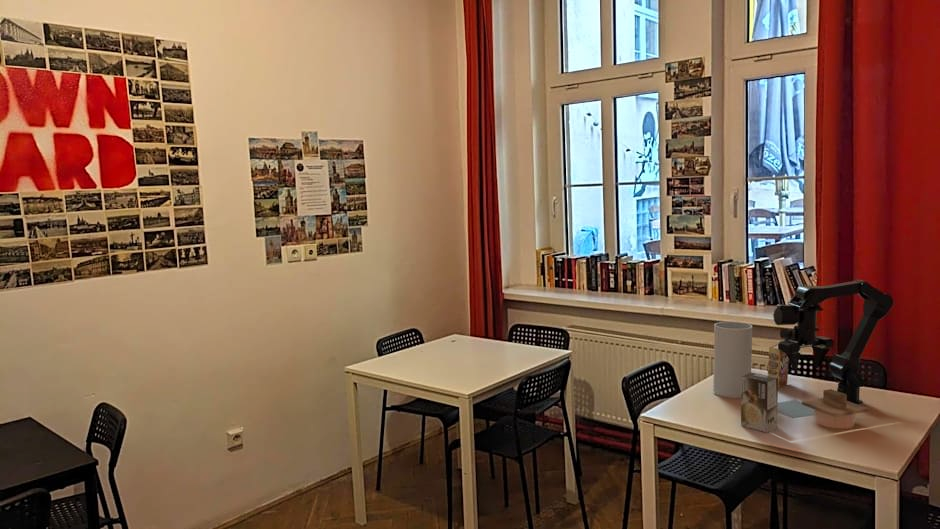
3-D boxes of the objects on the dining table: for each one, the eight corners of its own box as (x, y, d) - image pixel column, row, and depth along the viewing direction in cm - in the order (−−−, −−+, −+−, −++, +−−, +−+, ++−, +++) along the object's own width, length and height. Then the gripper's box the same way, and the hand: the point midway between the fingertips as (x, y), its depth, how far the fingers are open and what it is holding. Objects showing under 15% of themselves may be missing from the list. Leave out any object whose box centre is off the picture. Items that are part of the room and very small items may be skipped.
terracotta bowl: (833, 415, 228) (834, 400, 227) (862, 426, 217) (862, 411, 217) (806, 420, 224) (806, 405, 224) (834, 431, 214) (834, 415, 213)
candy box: (778, 390, 255) (779, 348, 253) (766, 387, 258) (767, 347, 256) (788, 384, 261) (789, 344, 260) (776, 382, 264) (777, 342, 263)
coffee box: (778, 428, 218) (779, 377, 216) (767, 433, 214) (768, 381, 212) (750, 420, 225) (751, 371, 223) (739, 425, 221) (740, 375, 219)
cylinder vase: (707, 395, 252) (708, 326, 249) (721, 386, 261) (722, 320, 258) (743, 401, 244) (744, 330, 241) (755, 392, 253) (757, 324, 250)
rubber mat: (795, 401, 243) (795, 399, 243) (827, 413, 229) (827, 412, 229) (761, 406, 238) (761, 405, 238) (792, 419, 225) (792, 418, 225)
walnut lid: (834, 399, 228) (834, 384, 228) (868, 411, 216) (868, 395, 216) (801, 404, 224) (802, 389, 224) (834, 417, 212) (835, 401, 211)
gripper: (810, 317, 247) (808, 360, 249) (766, 322, 241) (765, 366, 243) (835, 322, 237) (834, 368, 239) (791, 328, 231) (790, 374, 233)
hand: (805, 369), depth 238 cm, fingers open, 9 cm apart
